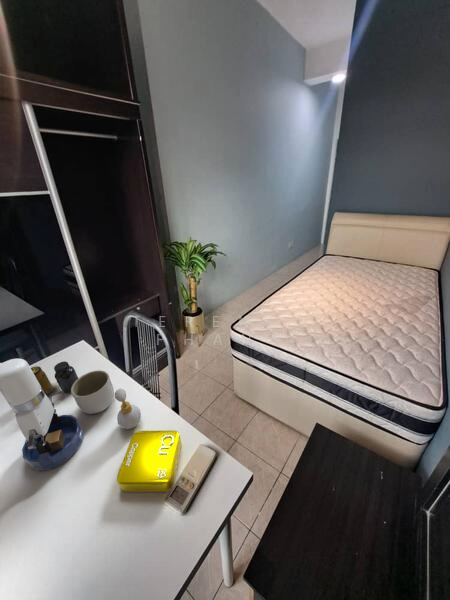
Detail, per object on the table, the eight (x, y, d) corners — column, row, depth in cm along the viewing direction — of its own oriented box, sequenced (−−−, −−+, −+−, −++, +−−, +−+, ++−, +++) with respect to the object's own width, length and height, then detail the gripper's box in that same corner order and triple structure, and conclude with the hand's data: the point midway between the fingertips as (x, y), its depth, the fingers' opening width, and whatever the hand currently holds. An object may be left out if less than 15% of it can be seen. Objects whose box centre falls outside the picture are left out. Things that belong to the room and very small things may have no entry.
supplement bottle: (58, 391, 99) (46, 369, 93) (72, 379, 105) (62, 357, 99) (70, 395, 97) (59, 373, 91) (84, 383, 103) (74, 361, 97)
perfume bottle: (130, 437, 80) (121, 412, 75) (111, 424, 85) (101, 400, 79) (147, 418, 86) (139, 395, 80) (128, 407, 91) (119, 384, 85)
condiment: (34, 391, 100) (21, 369, 94) (58, 381, 104) (47, 359, 98) (35, 403, 95) (21, 380, 89) (60, 391, 99) (48, 369, 93)
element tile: (137, 438, 80) (133, 429, 78) (182, 438, 79) (180, 429, 77) (118, 492, 67) (113, 483, 64) (172, 492, 66) (169, 483, 64)
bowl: (21, 479, 71) (13, 470, 68) (38, 432, 84) (32, 423, 81) (79, 460, 75) (73, 451, 72) (87, 418, 87) (82, 409, 85)
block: (48, 453, 77) (43, 445, 75) (52, 441, 80) (47, 433, 78) (62, 448, 78) (58, 440, 76) (65, 437, 81) (61, 429, 79)
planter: (123, 397, 95) (116, 376, 90) (96, 423, 85) (86, 402, 80) (102, 386, 100) (94, 366, 95) (73, 410, 91) (62, 389, 86)
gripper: (24, 380, 75) (45, 417, 83) (-3, 430, 60) (27, 469, 68) (51, 374, 77) (70, 410, 85) (32, 421, 62) (57, 459, 70)
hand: (51, 436), depth 77 cm, fingers open, 9 cm apart
